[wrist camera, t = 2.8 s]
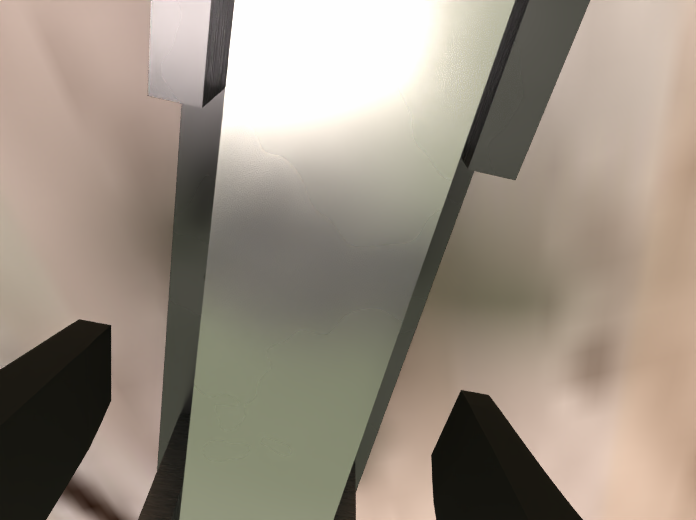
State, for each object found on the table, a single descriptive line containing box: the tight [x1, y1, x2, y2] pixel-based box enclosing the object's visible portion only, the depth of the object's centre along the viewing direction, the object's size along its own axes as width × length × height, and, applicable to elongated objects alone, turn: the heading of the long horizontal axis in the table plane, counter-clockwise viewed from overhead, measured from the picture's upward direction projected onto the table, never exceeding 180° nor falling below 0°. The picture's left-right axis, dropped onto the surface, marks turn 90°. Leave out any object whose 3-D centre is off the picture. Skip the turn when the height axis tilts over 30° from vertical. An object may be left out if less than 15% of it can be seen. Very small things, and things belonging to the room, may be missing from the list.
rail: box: [179, 0, 515, 520], centre depth 10 cm, size 18×3×3 cm, turn 167°
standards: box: [138, 0, 590, 520], centre depth 12 cm, size 20×7×5 cm, turn 167°
